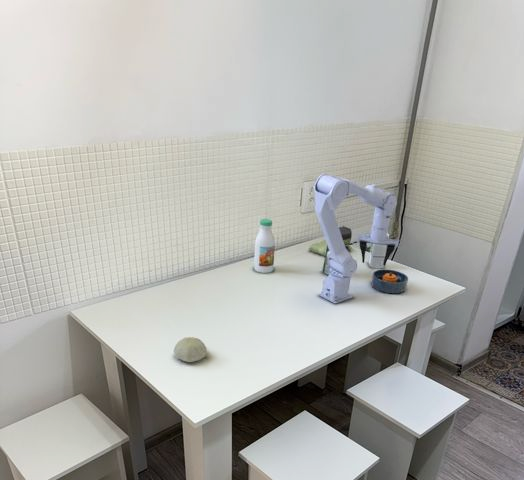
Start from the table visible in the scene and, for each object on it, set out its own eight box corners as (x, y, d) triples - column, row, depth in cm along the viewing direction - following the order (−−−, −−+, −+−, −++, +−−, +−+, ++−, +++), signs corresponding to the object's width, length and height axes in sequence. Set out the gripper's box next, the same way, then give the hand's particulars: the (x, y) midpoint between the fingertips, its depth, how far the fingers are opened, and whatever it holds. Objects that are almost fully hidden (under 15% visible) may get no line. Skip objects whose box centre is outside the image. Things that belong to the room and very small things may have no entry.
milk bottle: (251, 271, 193) (253, 221, 183) (257, 264, 200) (259, 216, 189) (270, 274, 192) (273, 224, 181) (275, 267, 198) (278, 218, 188)
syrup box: (383, 268, 203) (390, 234, 196) (369, 267, 203) (375, 233, 196) (381, 263, 208) (387, 230, 200) (367, 262, 208) (373, 229, 200)
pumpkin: (389, 290, 184) (392, 277, 181) (377, 284, 187) (380, 271, 185) (398, 286, 187) (401, 273, 184) (387, 281, 191) (389, 268, 188)
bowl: (391, 297, 180) (393, 286, 177) (363, 284, 188) (365, 273, 186) (412, 289, 187) (415, 278, 185) (385, 277, 195) (387, 266, 193)
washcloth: (352, 250, 220) (354, 243, 219) (329, 259, 209) (330, 252, 207) (329, 242, 228) (330, 235, 226) (305, 251, 216) (306, 244, 214)
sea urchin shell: (207, 340, 143) (206, 333, 135) (206, 366, 141) (205, 360, 133) (176, 339, 142) (173, 332, 135) (174, 365, 141) (171, 360, 133)
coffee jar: (335, 267, 202) (341, 223, 192) (349, 274, 196) (356, 228, 187) (318, 272, 197) (323, 226, 187) (332, 278, 191) (338, 232, 182)
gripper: (400, 225, 175) (393, 261, 182) (359, 221, 177) (354, 256, 184) (401, 231, 169) (393, 268, 176) (359, 227, 171) (353, 263, 178)
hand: (373, 263), depth 180 cm, fingers open, 7 cm apart
